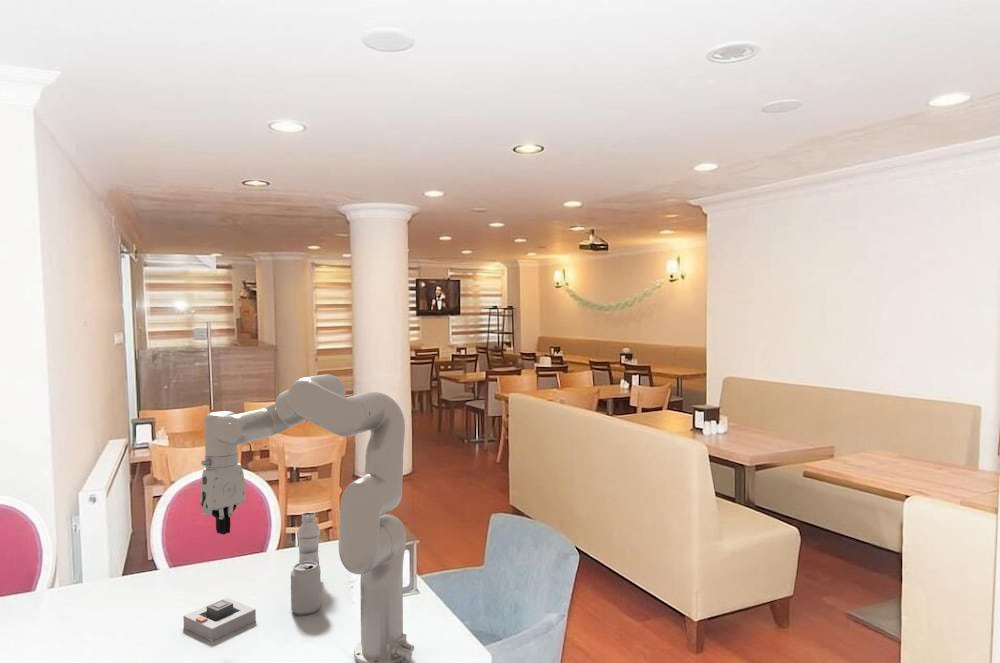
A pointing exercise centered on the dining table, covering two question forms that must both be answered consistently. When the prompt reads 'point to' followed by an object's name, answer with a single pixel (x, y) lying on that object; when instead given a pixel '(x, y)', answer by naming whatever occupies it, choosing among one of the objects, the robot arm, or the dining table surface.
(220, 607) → the plug
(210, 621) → the socket plate
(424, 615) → the dining table surface
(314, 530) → the plastic bottle
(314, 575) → the can
